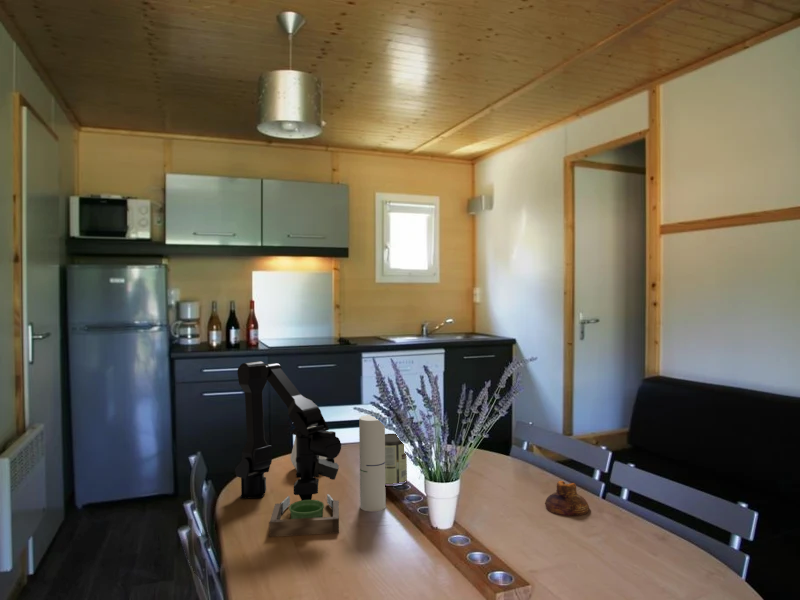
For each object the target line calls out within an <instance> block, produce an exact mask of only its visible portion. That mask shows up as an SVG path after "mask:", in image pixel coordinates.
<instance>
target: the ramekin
mask: <svg viewBox="0 0 800 600" xmlns="http://www.w3.org/2000/svg"><path fill="white" fill-rule="evenodd" d="M288 508H289V512H290V513H289V514H290V519H301V518H320V517H324V509H325V504H324V502H322V501H320V500H318V499H317V500H316V499H311V500H301V499H300V500H299V501H295V502H293V503H290V505H289V506H288Z"/></svg>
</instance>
